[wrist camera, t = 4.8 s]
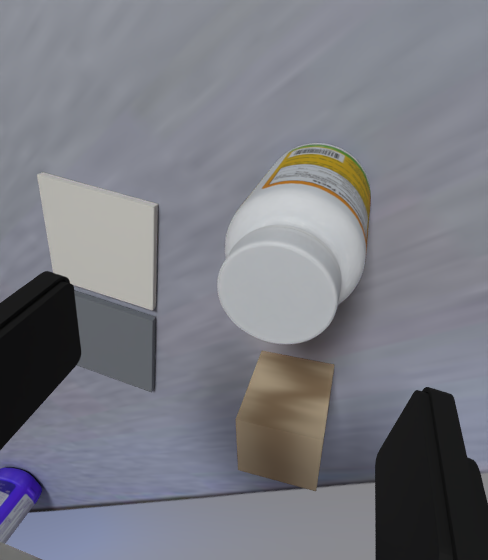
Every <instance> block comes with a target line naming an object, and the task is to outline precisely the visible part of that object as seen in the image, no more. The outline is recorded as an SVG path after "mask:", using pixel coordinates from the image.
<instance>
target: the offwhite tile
mask: <svg viewBox="0 0 488 560" xmlns="http://www.w3.org/2000/svg"><path fill="white" fill-rule="evenodd" d="M37 177H38V183H39V189H40V195H41V201H42V207H43V213H44V219H45V225H46V231H47V237H48V243H49V249H50V255H51V262H52V268H53V273H55V274H59V275H62V276H65V277H67V278H68V279H69V281H70V284H72V285H75V286H79V287H82V288H85V289H88V290H91V291H94V292H97V293H100V294H103V295H106V296H109V297H112V298H116V299H119V300H122V301H125V302H128V303H131V304H134V305H137V306H140V307H143V308H146V309H149V310H154V308H155V307H156V282H157V230H158V204H156V203H152V202H149V201H145V200H141V199H138V198H134V197H131V196H127V195H123V194H120V193H116V192H112V191H109V190H105V189H101V188H98V187H94V186H91V185H87V184H83V183H80V182H76V181H72V180H69V179H65V178H62V177H58V176H54V175H51V174H47V173H43V172H42V173H40V174H38V175H37Z"/></svg>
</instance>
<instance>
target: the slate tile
mask: <svg viewBox="0 0 488 560" xmlns="http://www.w3.org/2000/svg"><path fill="white" fill-rule="evenodd" d="M74 293H75V302H76V310H77V319H78V327H79V336H80V344H81V358H80V360H79V362H78V364H77V366H80V367H83V368H86V369H88V370H91V371H94V372H97V373H99V374H102V375H105V376H108V377H110V378H113V379H116V380H119V381H122V382H124V383H127V384H130V385H133V386H135V387H138V388H141V389H144V390H146V391H149V392H152V391H153V389H154V387H155V335H156V317H154V316H151V315H148V314H145V313H142V312H139V311H136V310H133V309H130V308H127V307H124V306H121V305H118V304H115V303H111V302H108V301H105V300H102V299H99V298H96V297H93V296H90V295H87V294H84V293H81V292H78V291H75V290H74Z"/></svg>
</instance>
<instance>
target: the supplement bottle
mask: <svg viewBox="0 0 488 560" xmlns="http://www.w3.org/2000/svg"><path fill="white" fill-rule="evenodd" d="M370 201H371V193H370V185H369V181H368V178H367V175H366V173H365V171H364V169H363V167H362V166H361V165H360V163H359V162H358V161H357V160H356V159H355V158H354V157H353V156H352V155H351V154H349V153H348V152H346V151H345V150H343V149H341V148H339V147H336V146H333V145H329V144H324V143H311V144H306V145H302V146H299V147H296V148H294V149H292V150H290V151H289V152H287V153H285V154H284V155H283V156H282V157H281V158H280V159H279V160H278V161H277V162H276V163H275V164H274V165H273V166H272V167H271V169H270V170H269V171H268V173H267V174H266V175H265V176H264V178H263V179H262V180H261V182H260V183H259V184H258V185H257V186H256V188H255V189H254V190H253V192H252V193H251V194H250V195H249V196H248V198H247V199H246V200H245V201H244V203H243V204H242V205H241V206H240V208H239V209H238V211H237V212H236V214H235V215H234V217H233V219H232V221H231V223H230V225H229V228H228V231H227V235H226V240H225V256H226V260H225V261H224V263H223V265H222V267H221V269H220V272H219V276H218V281H217V289H218V296H219V299H220V302H221V305H222V307H223V309H224V310H225V312H226V314H227V315H228V316H229V318H230V319H231V320H232V321H233V322H234V323H235V324H236V325H237V326H238V327H239V328H240V329H242V330H243V331H244V332H246V333H248V334H249V335H251V336H253V337H255V338H258V339H260V340H263V341H266V342H270V343H275V344H296V343H302V342H305V341H308V340H310V339H312V338H314V337H316V336H318V335H319V334H320V333H322V332H323V331H324V330H325V329H326V328H327V327H328V326H329V325H330V323H331V321H332V320H333V318H334V316H335V313H336V310H337V306H338V305H339V304H340V303H341V302H343V301H344V300H345V299H346V298H347V297H348V296H349V295H350V294H351V293H352V292H353V291H354V289H355V288H356V286H357V285H358V283H359V281H360V278H361V276H362V273H363V270H364V266H365V260H366V250H367V236H368V224H369V213H370Z"/></svg>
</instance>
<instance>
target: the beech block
mask: <svg viewBox="0 0 488 560" xmlns="http://www.w3.org/2000/svg"><path fill="white" fill-rule="evenodd" d="M333 371H334V364H329V363H323V362H318V361H313V360H308V359H303V358H297V357H292V356H287V355H282V354H276V353H271V352H266V351H261V354H260V357H259V359H258V362H257V365H256V367H255V370H254V372H253V375H252V378H251V380H250V383H249V386H248V388H247V391H246V394H245V396H244V399H243V401H242V404H241V407H240V409H239V412H238V415H237V417H236V436H237V456H238V470H240V471H244V472H247V473H251V474H255V475H258V476H262V477H266V478H269V479H273V480H277V481H280V482H284V483H288V484H291V485H295V486H299V487H302V488H306V489H310V490H313V491H316V488H317V481H318V475H319V468H320V461H321V455H322V448H323V441H324V434H325V428H326V421H327V414H328V407H329V400H330V393H331V386H332V379H333Z"/></svg>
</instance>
